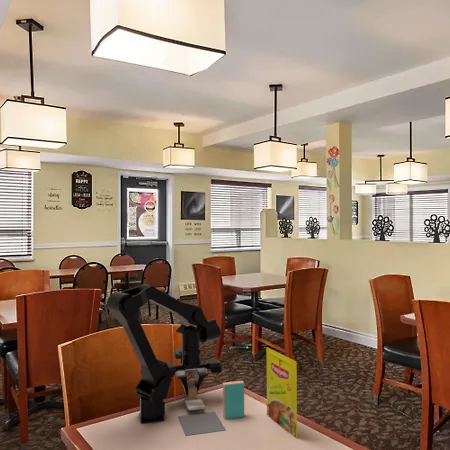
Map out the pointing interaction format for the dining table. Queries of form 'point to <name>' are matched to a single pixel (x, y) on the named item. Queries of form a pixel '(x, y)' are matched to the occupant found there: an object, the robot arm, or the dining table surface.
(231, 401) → the tile
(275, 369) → the food package
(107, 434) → the dining table surface
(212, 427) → the mat
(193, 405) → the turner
